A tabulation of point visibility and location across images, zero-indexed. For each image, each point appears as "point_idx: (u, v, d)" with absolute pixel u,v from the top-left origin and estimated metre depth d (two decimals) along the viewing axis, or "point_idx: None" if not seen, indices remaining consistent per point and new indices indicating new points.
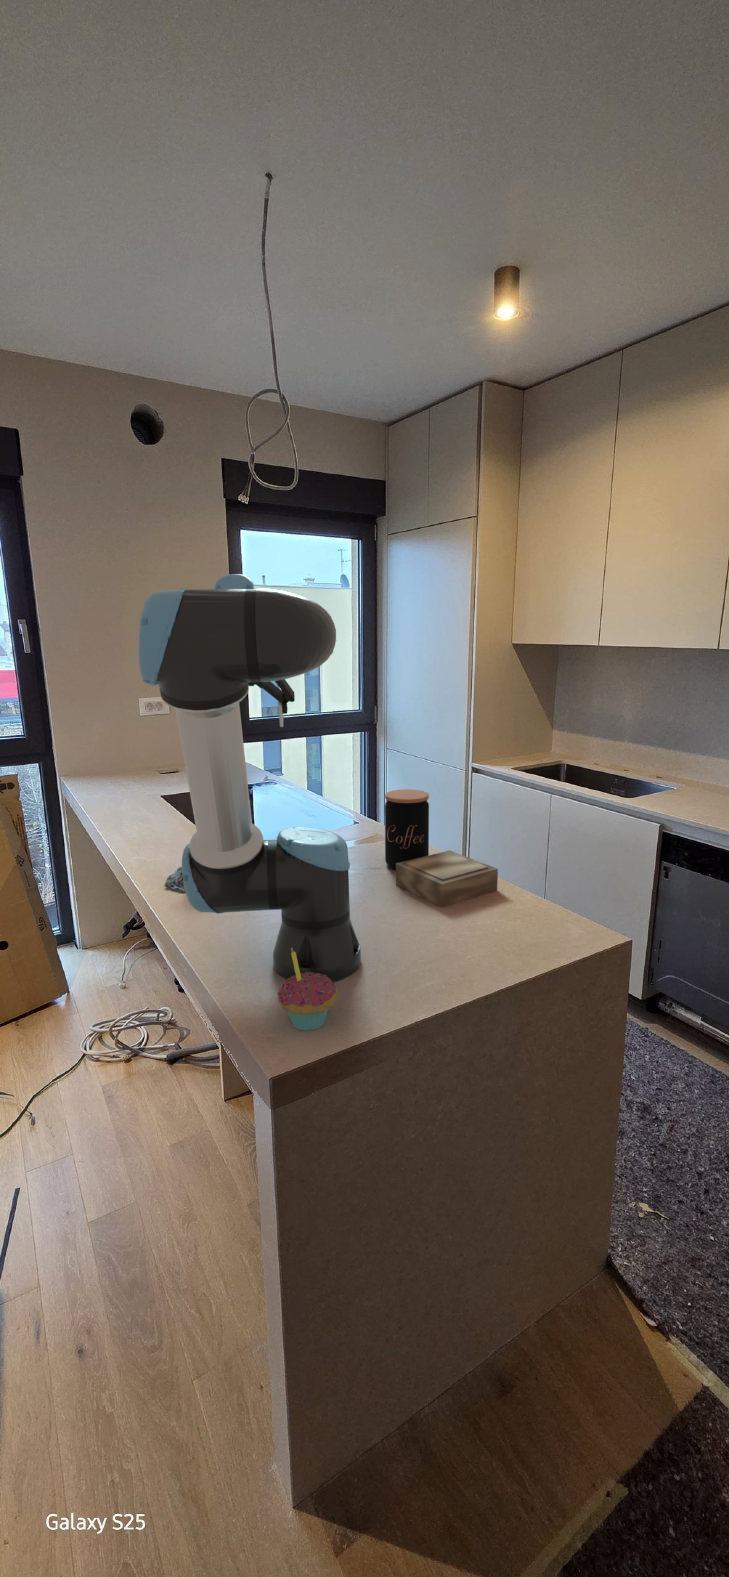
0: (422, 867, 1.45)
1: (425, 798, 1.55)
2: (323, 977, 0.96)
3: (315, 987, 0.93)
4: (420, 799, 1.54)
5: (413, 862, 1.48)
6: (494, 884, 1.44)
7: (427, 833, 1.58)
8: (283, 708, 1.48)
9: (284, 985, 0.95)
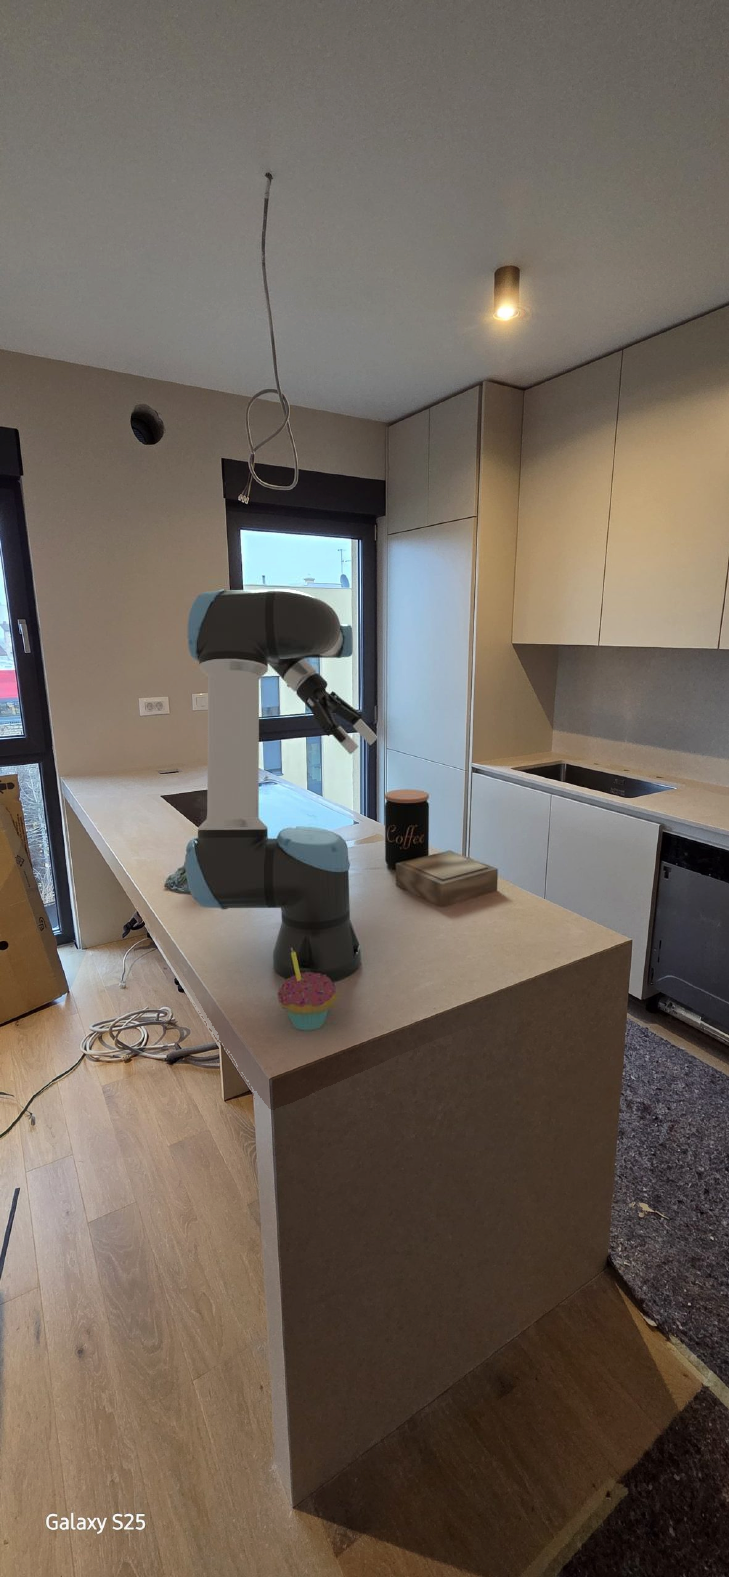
0: (422, 867, 1.45)
1: (425, 798, 1.55)
2: (323, 977, 0.96)
3: (315, 987, 0.93)
4: (420, 799, 1.54)
5: (413, 862, 1.48)
6: (494, 884, 1.44)
7: (427, 833, 1.58)
8: None
9: (284, 985, 0.95)
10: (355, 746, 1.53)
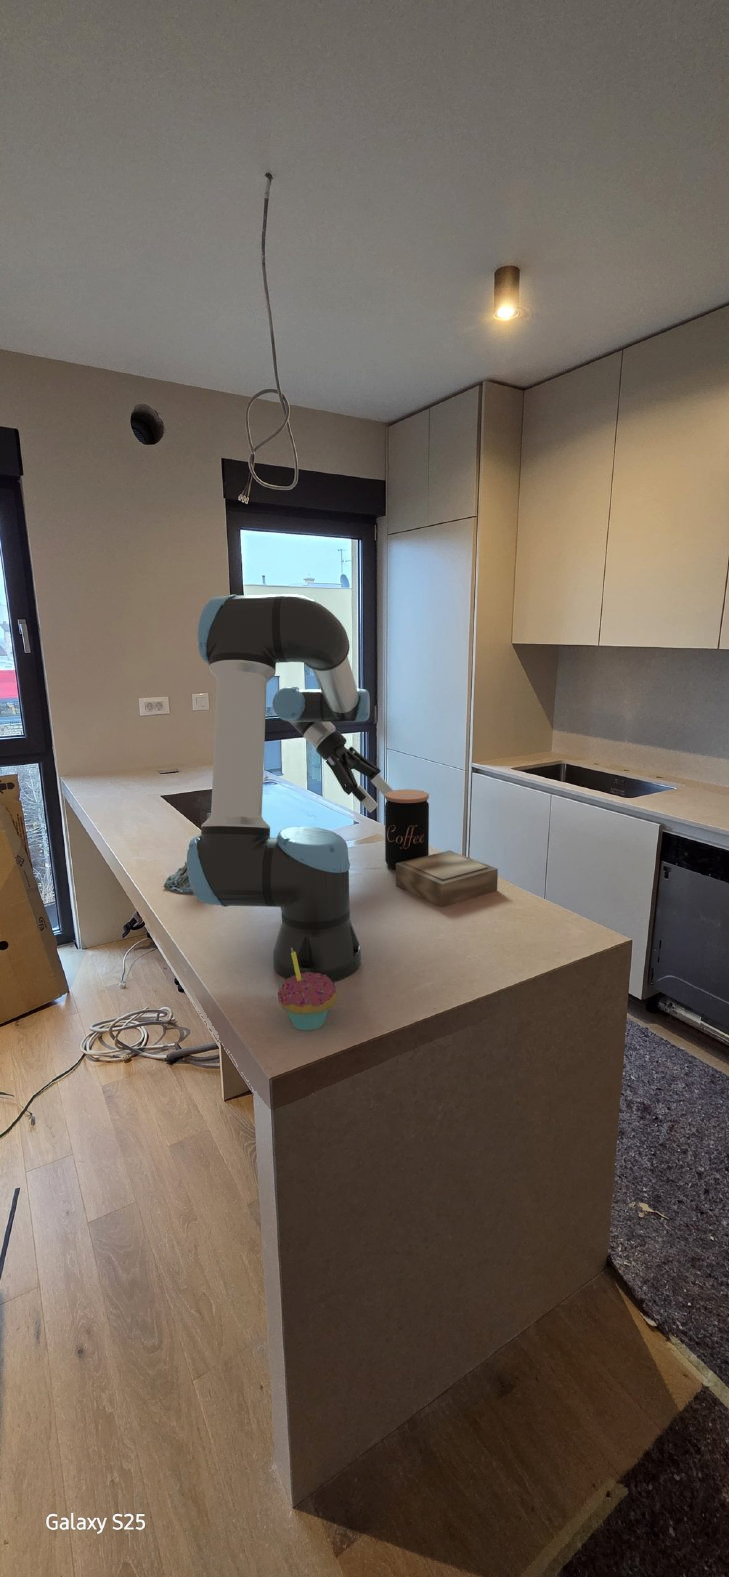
0: (422, 867, 1.45)
1: (425, 798, 1.55)
2: (323, 977, 0.96)
3: (315, 987, 0.93)
4: (420, 799, 1.54)
5: (413, 862, 1.48)
6: (494, 884, 1.44)
7: (427, 833, 1.58)
8: None
9: (284, 985, 0.95)
10: (375, 805, 1.55)
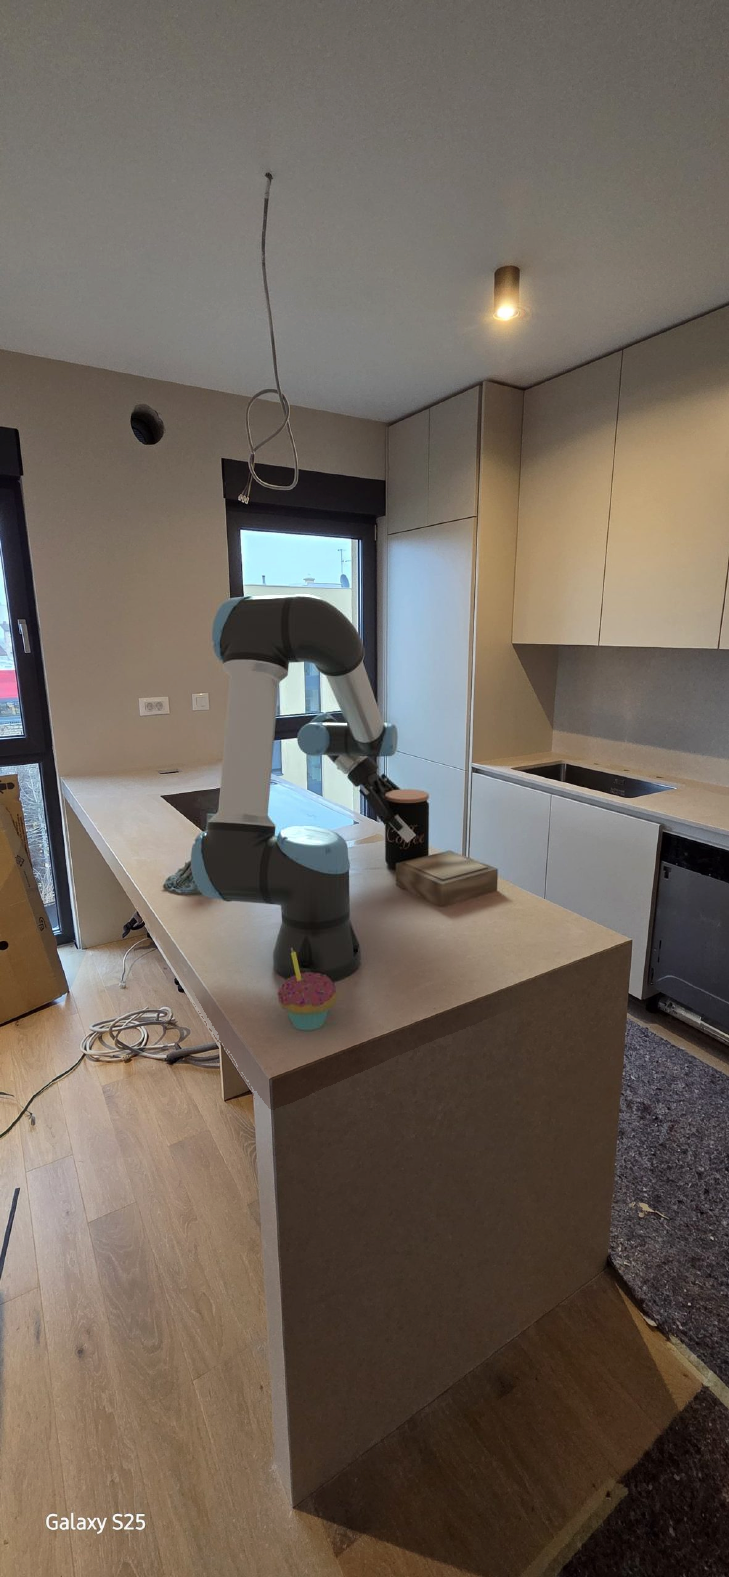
0: (422, 867, 1.45)
1: (425, 798, 1.55)
2: (323, 977, 0.96)
3: (315, 987, 0.93)
4: (420, 799, 1.54)
5: (413, 862, 1.48)
6: (494, 884, 1.44)
7: (427, 833, 1.58)
8: None
9: (284, 985, 0.95)
10: (412, 835, 1.54)
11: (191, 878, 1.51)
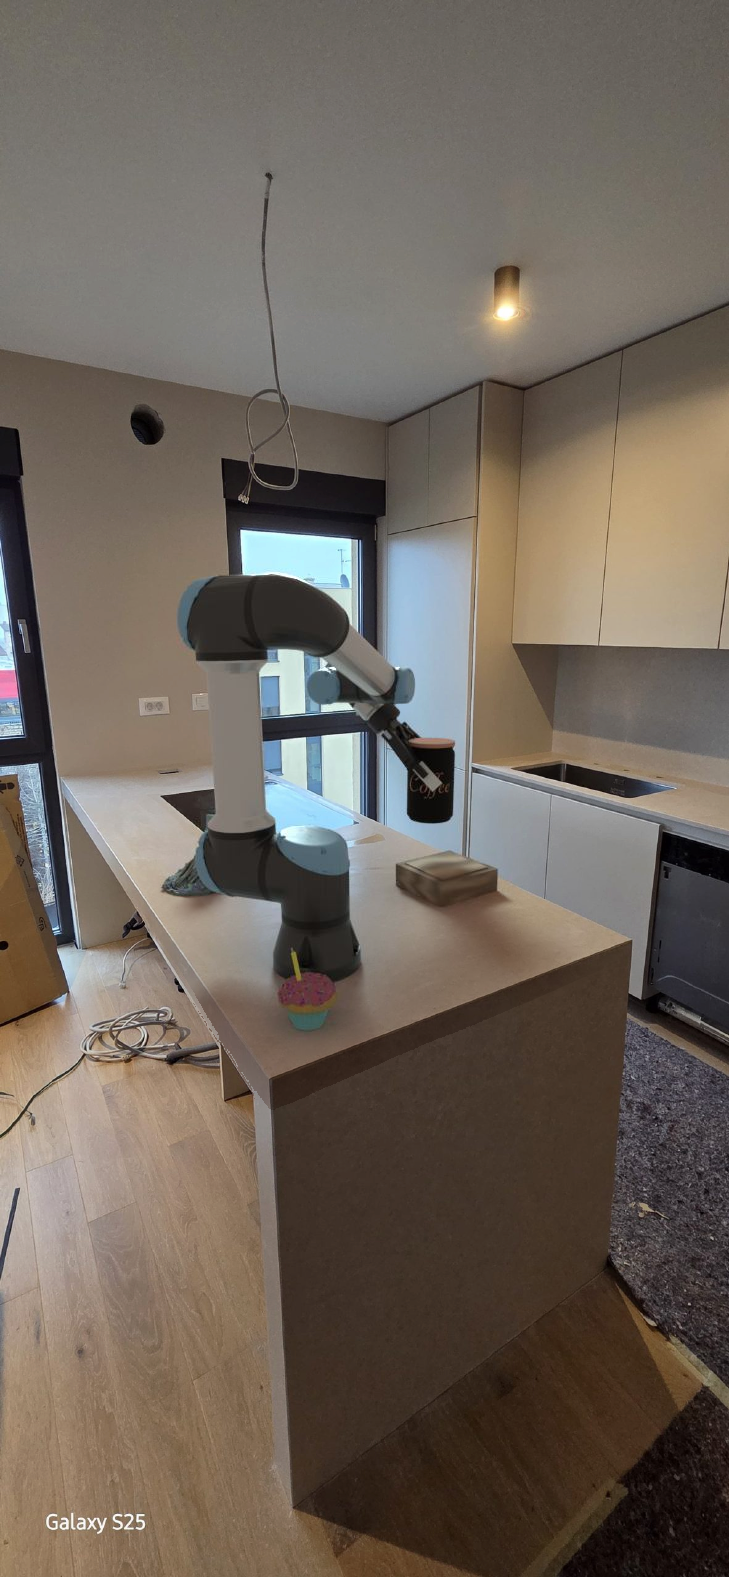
0: (422, 867, 1.45)
1: (452, 744, 1.45)
2: (323, 977, 0.96)
3: (315, 987, 0.93)
4: (447, 744, 1.43)
5: (413, 862, 1.48)
6: (494, 884, 1.44)
7: (452, 782, 1.47)
8: None
9: (284, 985, 0.95)
10: (438, 783, 1.43)
11: (190, 879, 1.50)
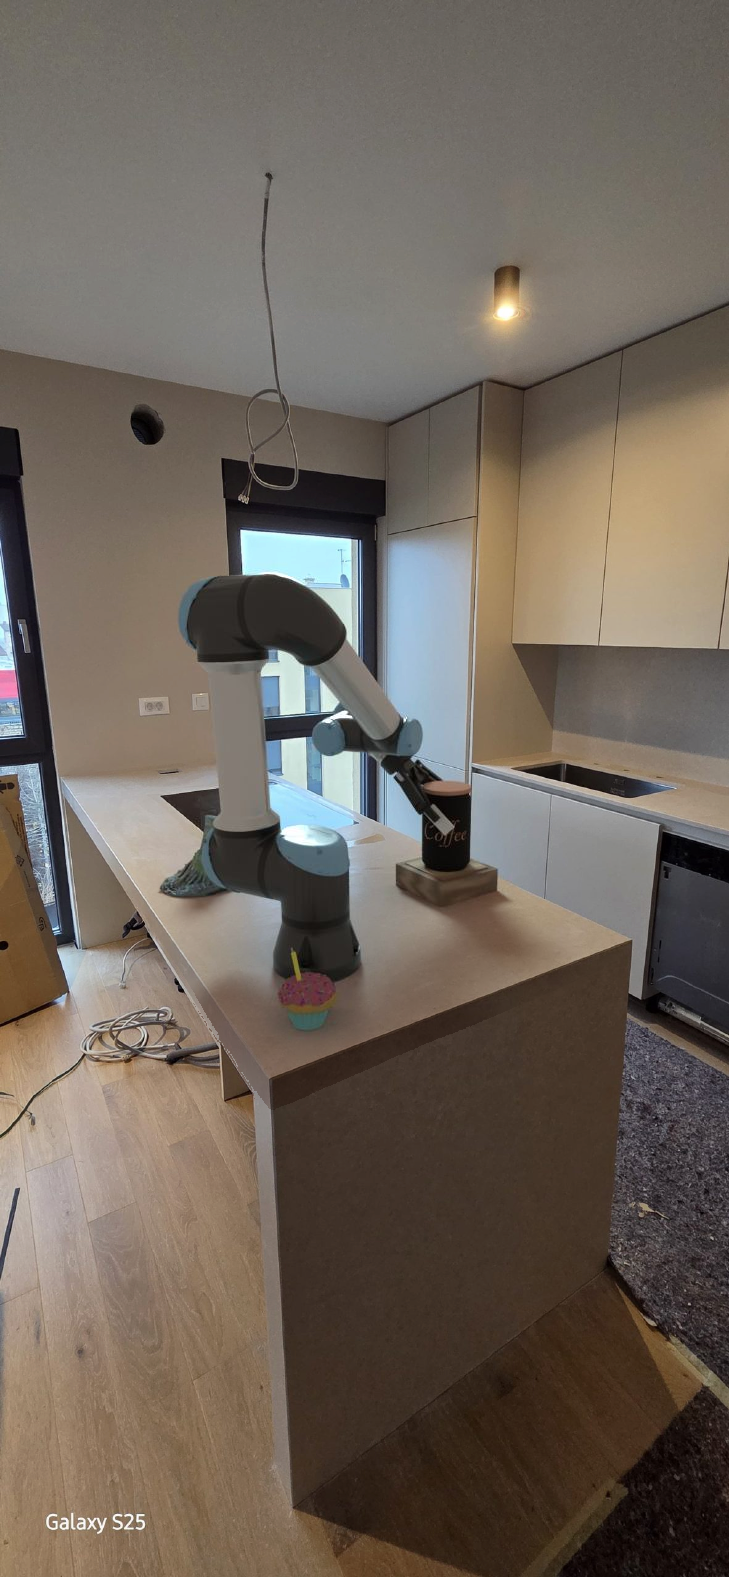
0: (422, 867, 1.45)
1: (468, 790, 1.39)
2: (323, 977, 0.96)
3: (315, 987, 0.93)
4: (463, 791, 1.38)
5: (413, 862, 1.48)
6: (494, 884, 1.44)
7: (469, 829, 1.42)
8: None
9: (284, 985, 0.95)
10: (451, 827, 1.36)
11: (188, 880, 1.49)
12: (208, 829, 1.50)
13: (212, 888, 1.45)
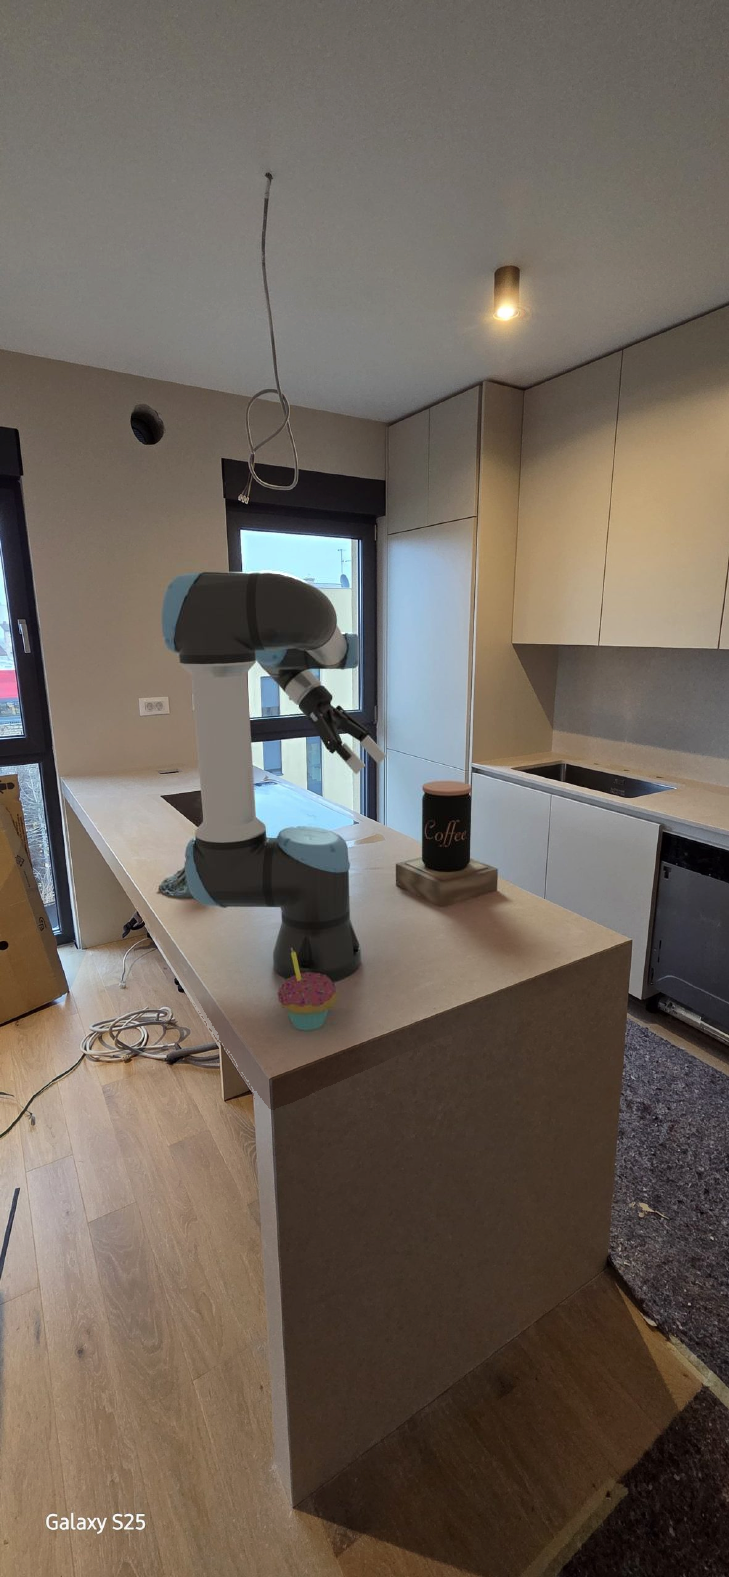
0: (422, 867, 1.45)
1: (468, 790, 1.39)
2: (323, 977, 0.96)
3: (315, 987, 0.93)
4: (463, 791, 1.38)
5: (413, 862, 1.48)
6: (494, 884, 1.44)
7: (469, 829, 1.42)
8: None
9: (284, 985, 0.95)
10: (361, 765, 1.39)
11: (186, 881, 1.49)
12: None
13: None
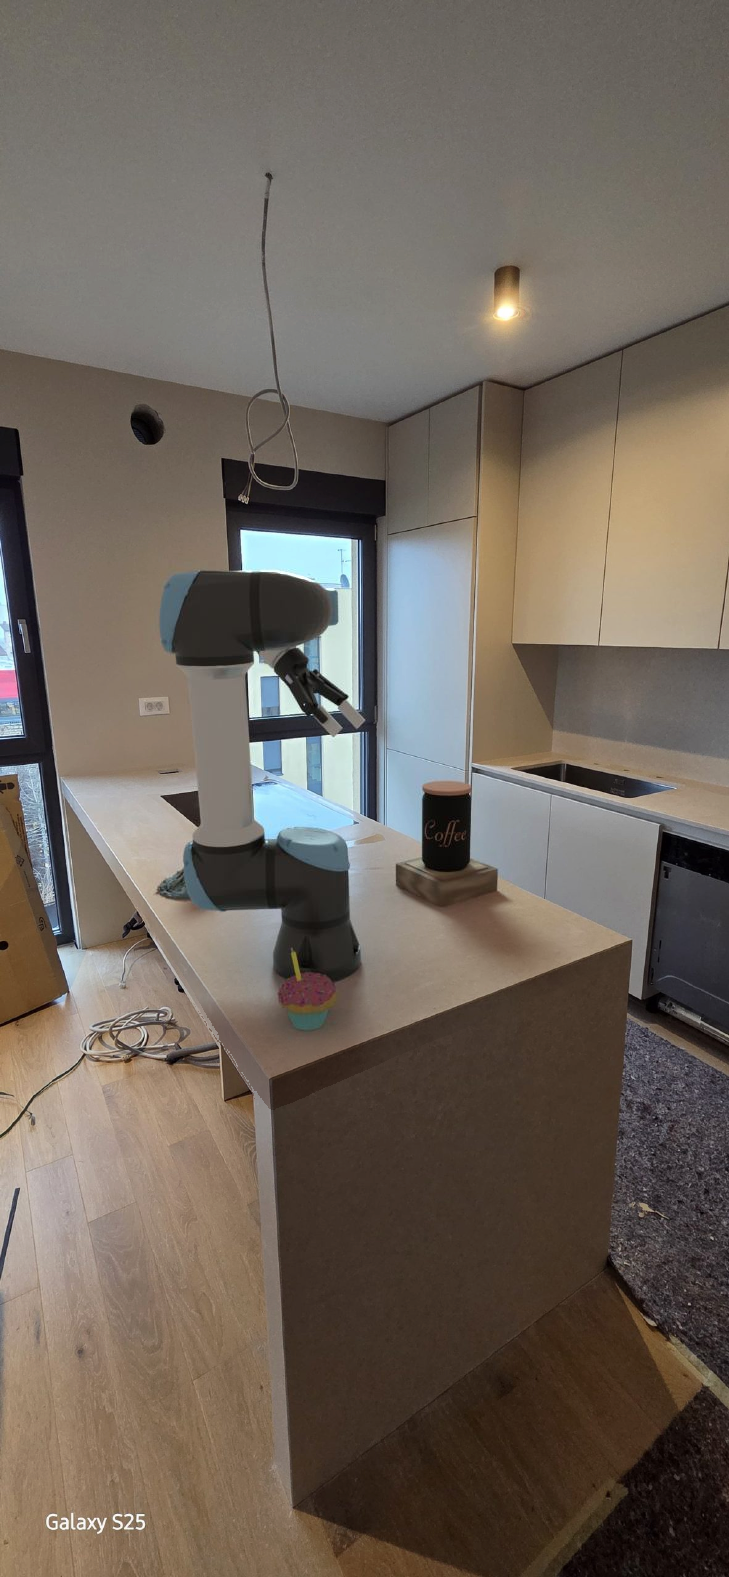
0: (422, 867, 1.45)
1: (468, 790, 1.39)
2: (323, 977, 0.96)
3: (315, 987, 0.93)
4: (463, 791, 1.38)
5: (413, 862, 1.48)
6: (494, 884, 1.44)
7: (469, 829, 1.42)
8: None
9: (284, 985, 0.95)
10: (338, 728, 1.36)
11: (184, 882, 1.48)
12: None
13: None
